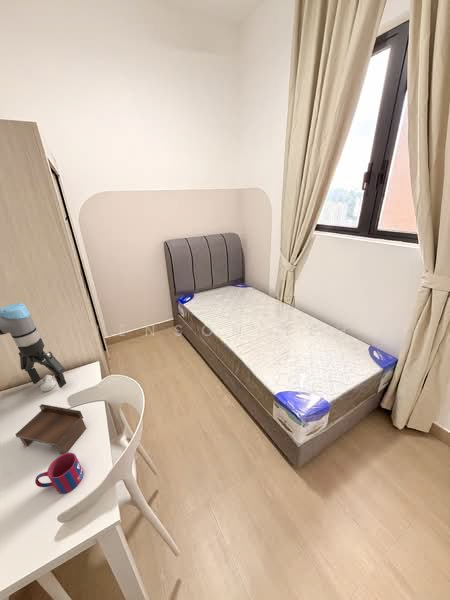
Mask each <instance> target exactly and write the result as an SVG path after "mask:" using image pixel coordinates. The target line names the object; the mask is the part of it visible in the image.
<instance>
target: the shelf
mask: <svg viewBox="0 0 450 600" xmlns="http://www.w3.org/2000/svg"><path fill="white" fill-rule="evenodd" d="M38 407H39V409H40V411H39V412H38V413H37V414H36V415H35V416H34V417H32V418H31V419H30V420H29V422H27V423H26V424H25V425H24V426H22V427H21V429H20V430H18V431H17V432H16V433H14V435H15V436H16V438H19V440H20V441H21V443H22V445H23V447H29V446H30V445H31V444H32V443H34V442H37V443H42V444H46V445H51V446H55V447H56V448H57V450H58V452H59V454H60V455H63V454H65V453H69V451H70V449H72V447H73V446H74V445H75V443H76V442H77V441H78V440H79V438H81V436H82V435H83V434H84V432H85V431H86V430H87V429H88V428H87V427H86V423H85V421H84V420H83V419H84V416H83V414H82V412H81V410H78V409H71V408H67V407H61V406H55V405H49V404H43V403H41V404H40V405H39V406H38Z"/></svg>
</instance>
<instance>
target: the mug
mask: <svg viewBox="0 0 450 600" xmlns="http://www.w3.org/2000/svg"><path fill="white" fill-rule="evenodd" d="M42 477H43V478H44V477H48V479H49V480H50V482H41V481H39V479H40V478H42ZM83 477H84V469H83V467H82V465H81V463H80V461H79V459H78V457H77V455H76V454H75V453H74V452H67V453H65V454H63V455H62V454H60V455H59V456H57V457H56V458H55V459H54V460H53V461H52V462H51V463H50V464H49V466H48V468H47V471H44V472H40V473H39V474H37V475H36V477H35V480H34V483H35V485H36V486H37V487H39V488H50V487H54V489H55V491H56V492H57V493H59V494H67V493H69V492H72V491H73V490H74V489H76V488H77V487H78V486H79V485H80V483H81V482H82V480H83Z"/></svg>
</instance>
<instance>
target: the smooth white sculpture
mask: <svg viewBox="0 0 450 600" xmlns="http://www.w3.org/2000/svg"><path fill="white" fill-rule="evenodd" d="M53 378H54V376H52V375H51V374H46V375H44V376H43V377H42V383H41V384H40V386H39V389H40V391H42V392H49V391H51V390H53V389H54V388H55V386H56V384H57V381H56V380H55V379H53Z"/></svg>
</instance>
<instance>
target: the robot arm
mask: <svg viewBox="0 0 450 600" xmlns="http://www.w3.org/2000/svg"><path fill="white" fill-rule="evenodd" d="M6 334H10V336H11V338H12V340H13V341H14V343H15V346H16V347H17V349H18V351H19V352H18V356H19V361H20V364H19V365H20V370H21V371H24V372H26V373H27V374H28V376H29V377H30V380H31V382H32V383H33V385H36V384H37V383H39V382H40V381H41V380H42V378H41V377H40V375H39V373H38V371H37V369H36V368H35V363H37V364H39V365H41V366H44V367H45V368H47V369H48V370H49V371H50V372H51V373H52V374H54V375H53V378H54V380H55V382H56V384H57V385H58V387H59V389H62V388H63V387H64V386H66V384H67V381H66V379H65V376H64V373H65V371H66V368H65V367H64V365H62V363H60V362H59V361H58V360H57V359H56V357H55V356H54V354H53V352H51V351H47V352H45V351H44V348H45V343H44V342H43V339H42V338H41V335H40V333H39V332H38V329H37V327H36V325H35V322H34V320H33V318H32V315H31V313H30V311H29V310H28V308H27V306H26V305H25V304H24V303H20V302H19V303H12V304H8V305H5V306H3V307H0V336H2V335H3V336H4V335H6Z"/></svg>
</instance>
